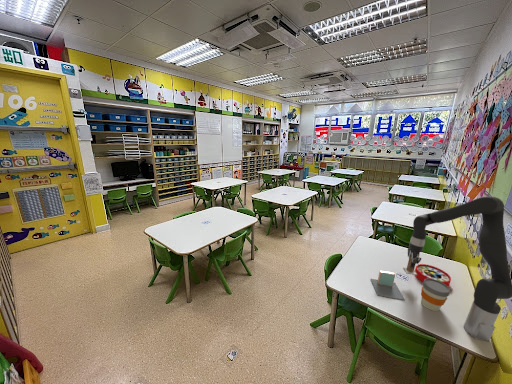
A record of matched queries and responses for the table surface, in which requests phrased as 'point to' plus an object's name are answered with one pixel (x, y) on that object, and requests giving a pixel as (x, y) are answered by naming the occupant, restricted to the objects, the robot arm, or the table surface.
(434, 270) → the toy clock
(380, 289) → the mat
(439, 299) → the reusable coffee cup
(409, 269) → the scraper
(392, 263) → the table surface
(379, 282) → the tile
